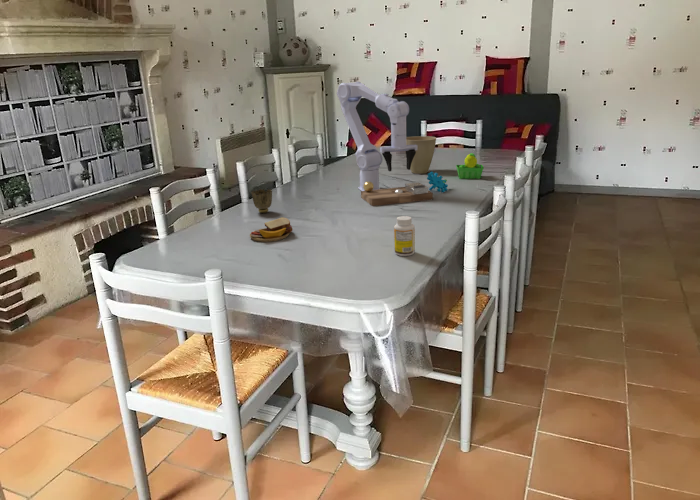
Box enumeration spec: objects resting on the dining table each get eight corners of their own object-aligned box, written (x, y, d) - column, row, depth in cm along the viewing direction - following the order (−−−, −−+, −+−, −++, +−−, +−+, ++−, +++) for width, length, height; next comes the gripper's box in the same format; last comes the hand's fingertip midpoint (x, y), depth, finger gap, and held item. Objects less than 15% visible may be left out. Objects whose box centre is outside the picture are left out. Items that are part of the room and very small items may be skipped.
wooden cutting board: (361, 197, 220) (360, 191, 219) (418, 191, 225) (418, 185, 224) (371, 205, 206) (371, 199, 206) (432, 199, 212) (432, 193, 211)
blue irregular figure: (437, 191, 218) (424, 170, 221) (427, 200, 221) (415, 180, 225) (454, 189, 225) (442, 170, 228) (445, 198, 229) (433, 179, 232)
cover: (405, 189, 219) (405, 182, 218) (418, 187, 220) (418, 180, 219) (413, 194, 210) (413, 187, 209) (427, 193, 211) (427, 185, 210)
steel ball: (392, 194, 218) (394, 187, 215) (401, 194, 218) (403, 187, 216) (394, 200, 215) (396, 193, 213) (403, 200, 216) (405, 192, 214)
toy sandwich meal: (247, 234, 180) (246, 219, 178) (289, 229, 184) (287, 215, 182) (252, 245, 169) (251, 230, 167) (296, 239, 172) (295, 224, 171)
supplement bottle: (402, 248, 159) (401, 214, 156) (418, 252, 156) (418, 216, 152) (390, 254, 155) (389, 218, 152) (407, 258, 152) (406, 221, 148)
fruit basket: (481, 175, 250) (482, 150, 246) (484, 179, 242) (485, 153, 238) (455, 176, 251) (456, 150, 248) (457, 180, 243) (457, 154, 239)
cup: (277, 210, 206) (275, 188, 203) (268, 215, 199) (266, 193, 197) (259, 209, 208) (257, 188, 206) (249, 214, 202) (247, 192, 199)
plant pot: (437, 175, 255) (438, 139, 250) (405, 176, 255) (404, 140, 250) (433, 168, 269) (434, 135, 264) (402, 169, 270) (402, 136, 264)
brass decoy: (362, 191, 219) (361, 181, 218) (372, 190, 220) (371, 180, 219) (365, 193, 215) (364, 183, 214) (375, 192, 216) (374, 182, 215)
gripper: (383, 137, 208) (384, 173, 212) (420, 134, 211) (420, 170, 216) (378, 135, 214) (378, 170, 219) (413, 132, 218) (413, 167, 222)
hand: (399, 170), depth 218 cm, fingers open, 7 cm apart
